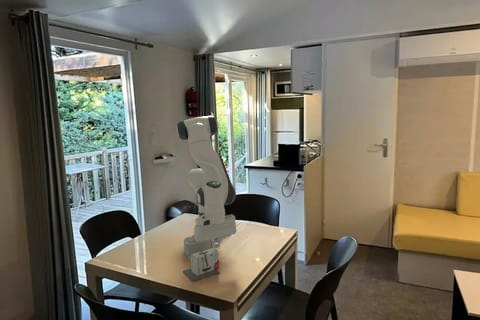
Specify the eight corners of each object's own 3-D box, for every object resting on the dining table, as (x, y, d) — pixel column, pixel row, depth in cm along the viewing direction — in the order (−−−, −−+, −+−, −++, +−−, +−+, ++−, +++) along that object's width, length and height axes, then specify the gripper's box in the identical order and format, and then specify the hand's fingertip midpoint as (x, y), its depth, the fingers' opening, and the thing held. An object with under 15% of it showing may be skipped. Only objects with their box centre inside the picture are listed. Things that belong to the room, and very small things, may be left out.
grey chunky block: (183, 251, 178) (182, 235, 176) (207, 247, 182) (207, 231, 181) (187, 259, 168) (186, 242, 167) (213, 254, 172) (212, 238, 171)
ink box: (219, 268, 155) (196, 276, 148) (214, 264, 159) (191, 272, 153) (218, 250, 154) (195, 257, 147) (213, 247, 158) (190, 254, 151)
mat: (208, 264, 161) (208, 263, 161) (219, 273, 152) (219, 272, 152) (183, 271, 154) (183, 270, 154) (193, 281, 145) (193, 280, 145)
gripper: (231, 211, 162) (232, 239, 164) (191, 220, 151) (193, 249, 153) (238, 215, 157) (239, 243, 158) (197, 223, 146) (199, 254, 148)
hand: (216, 246), depth 156 cm, fingers closed
